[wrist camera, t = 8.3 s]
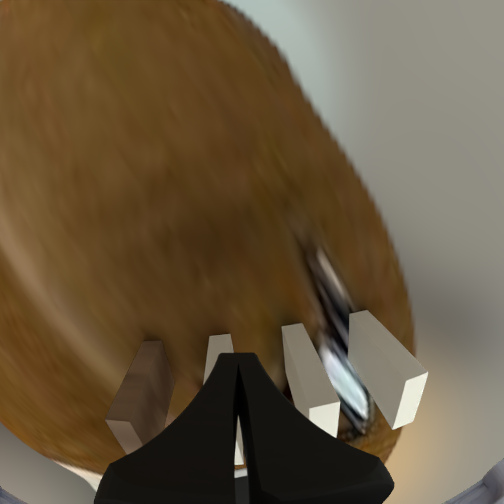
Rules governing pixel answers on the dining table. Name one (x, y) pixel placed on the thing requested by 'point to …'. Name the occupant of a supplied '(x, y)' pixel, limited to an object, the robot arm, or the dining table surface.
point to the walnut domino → (142, 398)
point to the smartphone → (241, 486)
